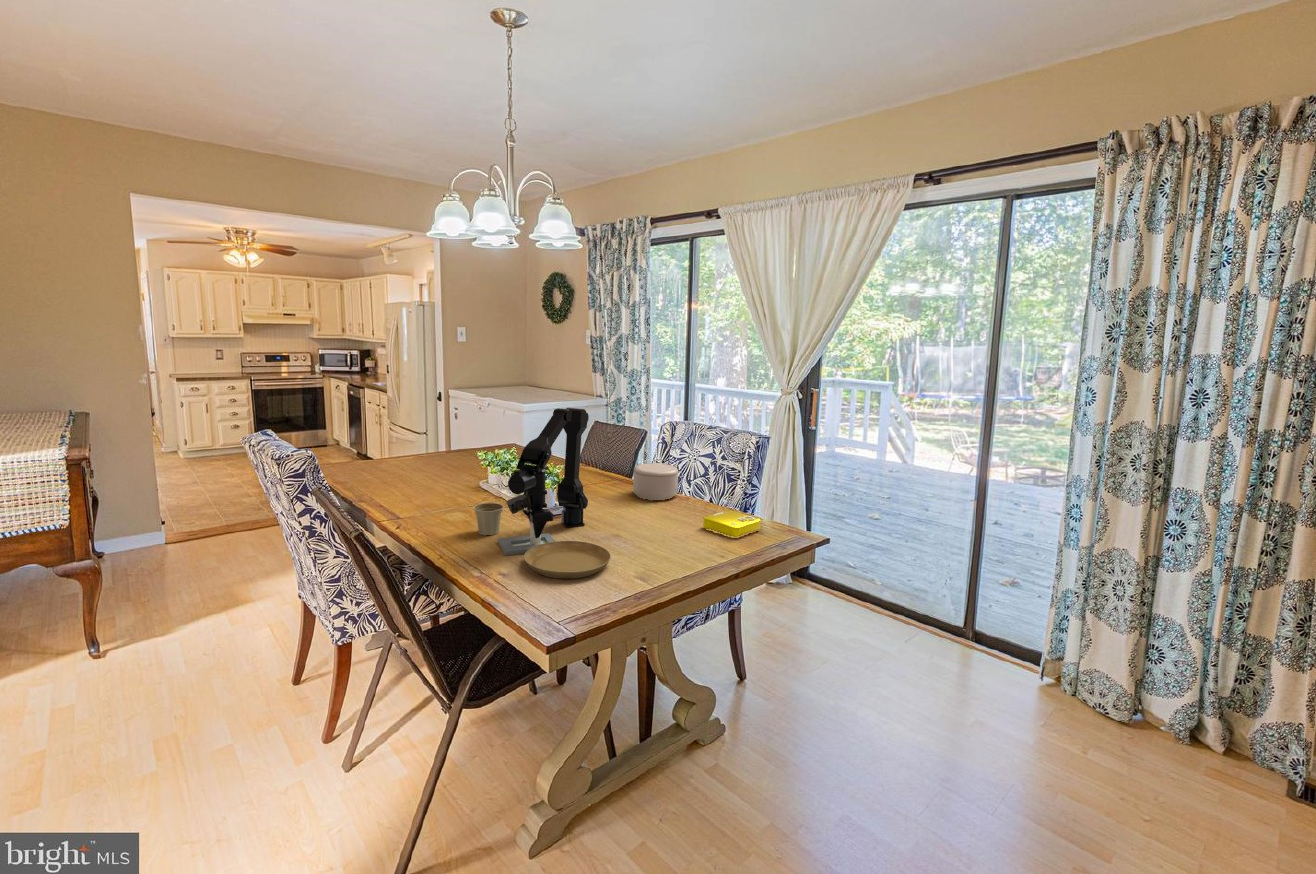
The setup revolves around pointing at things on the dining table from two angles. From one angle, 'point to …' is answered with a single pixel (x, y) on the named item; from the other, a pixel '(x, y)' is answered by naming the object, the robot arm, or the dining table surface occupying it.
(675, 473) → the container
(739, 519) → the element tile
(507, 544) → the keyhole plate
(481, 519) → the flower pot
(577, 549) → the plant saucer
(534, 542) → the cream peg
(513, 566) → the dining table surface
